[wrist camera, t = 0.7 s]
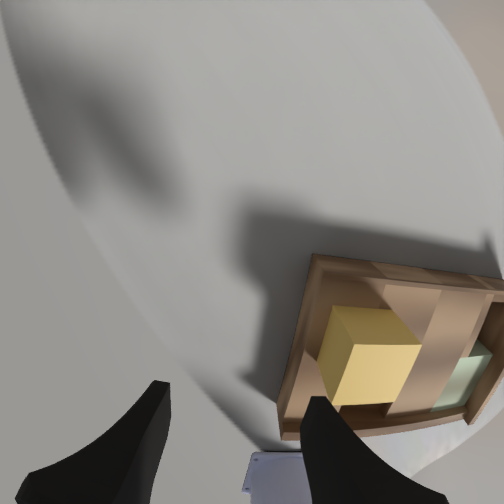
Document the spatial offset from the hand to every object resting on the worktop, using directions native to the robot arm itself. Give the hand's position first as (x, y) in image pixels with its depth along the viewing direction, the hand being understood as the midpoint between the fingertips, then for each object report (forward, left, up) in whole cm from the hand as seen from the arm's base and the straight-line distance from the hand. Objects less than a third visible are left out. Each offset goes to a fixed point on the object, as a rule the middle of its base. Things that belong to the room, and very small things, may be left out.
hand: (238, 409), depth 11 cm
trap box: (-2, -14, -9) cm, 17 cm away
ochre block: (0, -7, -6) cm, 9 cm away
